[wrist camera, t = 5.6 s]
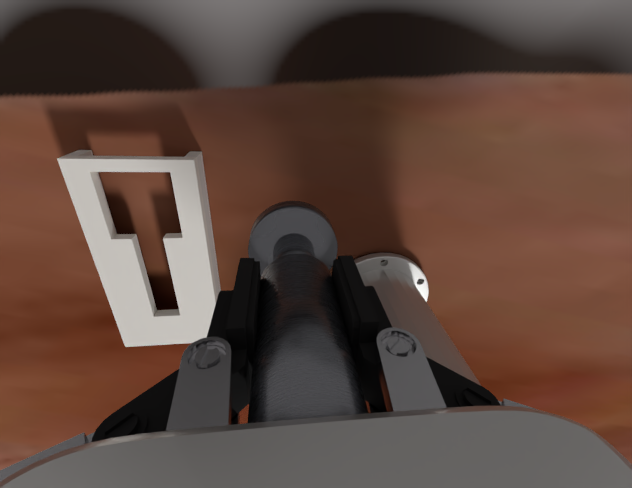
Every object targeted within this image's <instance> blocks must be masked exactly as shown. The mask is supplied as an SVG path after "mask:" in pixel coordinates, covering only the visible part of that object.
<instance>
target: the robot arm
mask: <svg viewBox="0 0 632 488" xmlns="http://www.w3.org/2000/svg"><path fill="white" fill-rule="evenodd" d="M332 280H333V283H334V287H335V291H336V294H337V298H338V302H339V306H340V309H341V313H342V317H343V320H344V324H345V328H346V332H347V335H348V339H349V343H350V346H351V350H352V354H353V357H354V361H355V365H356V368H357V372H358V376H359V379H360V383H361V387H362V391H363V394H364V398H365V402H366V405H367V409H368V413H366V414H354V415H342V416H329V417H317V418H305V419H293V420H281V421H269V422H257V423H246V424H240V415H239V412H240V411H241V410H242V409H243V408H244V407H245V406H246V405H247V404H249V403H250V391H251V380H252V368H253V358H254V354H255V344H256V332H257V320H258V308H259V297H260V285H261V273H260V261H255V259H254V258H240V262H239V267H238V272H237V276H236V281H235V286H234V290H232V291H220V292H219V294H218V298H217V301H216V305H215V309H214V312H213V316H212V320H211V323H210V327H209V331H208V334H207V337H206V338H202V339H199V340H197V341H195V342H194V343H192V344H191V345H189V346H188V348H187V349H186V350H185V351H184V353H183V356H182V359H181V363H180V368H179V369H178V370H177V371H175V372H174V373H172V374H171V375H169V376H168V377H166V378H165V379H163V380H162V381H160V382H159V383H157V384H156V385H154V386H153V387H151V388H150V389H148V390H147V391H145V392H144V393H142V394H141V395H139V396H138V397H136V398H135V399H133V400H132V401H131V402H129V403H128V404H126V405H125V406H123V407H122V408H120V409H119V410H117V411H116V412H114V413H113V414H111V415H110V416H109V417H108V418H106V419H105V420H104V421H103V422H102V423H101V425H100V426H99V427H98V428H97V429H96V431H95V432H94V433H92V434H90V435H88V436H86V435H85V433H82V434H80V435H77V436H75V437H73V438H71V439H69V440H66V441H64V442H62V443H60V444H58V445H55V446H53V447H51V448H49V449H47V450H44V451H42V452H40V453H38V454H36V455H33V456H31V457H29V458H27V459H25V460H22V461H20V462H18V463H16V464H13V465H11V466H9V467H7V468H5V469H2V470H0V488H632V464H631V463H630V462H629V461H628V460H627V459H626V458H625V457H624V456H623V455H622V454H621V453H620V452H618V451H617V450H616V449H615V448H614V447H613V446H612V445H611V444H609V443H608V442H607V441H606V440H605V439H604V438H602V437H601V436H600V435H598V434H597V433H595V432H594V431H593V430H591V429H589V428H587V427H586V426H584V425H582V424H580V423H578V422H575V421H573V420H571V419H568V418H565V417H562V416H559V415H556V414H552V413H548V412H544V411H541V410H537V409H534V408H531V407H528V406H525V405H522V404H519V403H516V402H513V401H510V400H506V399H503V401H502V402H500V401H498V400H497V399H496V397H495V396H494V395H493V394H492V393H491V392H490V391H488V390H487V389H485V388H484V387H482V386H481V384H480V383H479V381H478V380H477V378H476V377H475V375H474V374H473V372H472V371H471V369H470V368H469V366H468V365H467V363H466V362H465V360H464V359H463V357H462V356H461V354H460V353H459V351H458V349H457V348H456V346H455V345H454V343H453V342H452V340H451V339H450V337H449V336H448V334H447V333H446V331H445V330H444V328H443V327H442V325H441V324H440V322H439V321H438V319H437V318H436V316H435V315H434V313H433V311H432V310H431V308H430V307H429V305H428V304H427V300H428V294H429V287H428V282H427V279H426V276H425V275H424V273H423V272H422V270H421V269H420V268H419V267H418V265H417V264H416V263H415V262H413V261H412V260H410V259H409V258H407V257H404V256H402V255H399V254H394V253H374V254H369V255H366V256H362V257H359V258H357V259H355V260H354V259H353V257H352V256H338V259H334V260H333V270H332Z"/></svg>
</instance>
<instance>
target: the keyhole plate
mask: <svg viewBox="0 0 632 488" xmlns="http://www.w3.org/2000/svg"><path fill="white" fill-rule="evenodd" d="M57 160H58V163H59V165H60V168H61V171H62V174H63V177H64V179H65V182H66V185H67V188H68V190H69V193H70V196H71V199H72V201H73V204H74V207H75V210H76V212H77V215H78V218H79V221H80V223H81V226H82V229H83V232H84V234H85V237H86V240H87V243H88V245H89V248H90V251H91V254H92V256H93V259H94V262H95V265H96V268H97V270H98V273H99V276H100V279H101V281H102V284H103V287H104V290H105V292H106V295H107V298H108V301H109V303H110V306H111V309H112V312H113V314H114V317H115V320H116V323H117V325H118V328H119V331H120V334H121V336H122V339H123V342H124V345H125V347H132V346H149V345H166V344H183V343H194V342H195V341H197V340H199V339H202V338H206V337H207V334H208V331H209V327H210V323H211V320H212V316H213V312H214V309H215V305H216V301H217V298H218V294H219V292H220V291H221V288H220V281H219V274H218V266H217V259H216V252H215V244H214V237H213V230H212V223H211V215H210V208H209V201H208V193H207V186H206V179H205V171H204V164H203V157H202V151H190V152H189V153H188V154H187V155H186V156H184V157H157V156H93V153H92V150H77V151H75V152H72V153H70V154H67V155H65V156H62V157H60V158H57ZM98 172H170V174H171V179H172V184H173V190H174V195H175V200H176V205H177V211H178V216H179V221H180V226H181V231H182V233H166V234H165V236H164V237H163V241H164V246H165V250H166V254H167V259H168V263H169V268H170V272H171V277H172V281H173V285H174V290H175V294H176V299H177V303H178V307H179V309H171V310H157V308H156V305H155V301H154V297H153V294H152V290H151V286H150V283H149V279H148V275H147V272H146V268H145V264H144V261H143V257H142V253H141V250H140V246H139V242H138V238H137V235H136V234H117V232H116V229H115V225H114V222H113V219H112V216H111V212H110V209H109V206H108V202H107V199H106V196H105V193H104V189H103V186H102V183H101V179H100V176H99V173H98Z"/></svg>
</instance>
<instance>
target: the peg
mask: <svg viewBox="0 0 632 488" xmlns="http://www.w3.org/2000/svg"><path fill="white" fill-rule="evenodd" d="M248 254H249V258H254V259H255V261H260V273H261V285H260V297H259V308H258V320H257V332H256V344H255V354H254V358H253V368H252V380H251V391H250V403H249V414H248V423H257V422H269V421H281V420H293V419H305V418H317V417H329V416H342V415H354V414H366V413H368V409H367V405H366V402H365V398H364V394H363V391H362V387H361V383H360V379H359V376H358V372H357V368H356V365H355V361H354V357H353V354H352V350H351V346H350V343H349V339H348V335H347V332H346V328H345V324H344V320H343V317H342V313H341V309H340V306H339V302H338V298H337V294H336V291H335V287H334V283H333V280H332V276H331V273H330V271H329V270H330V269H331V267H332V266H333V260H334V259H336V256H337V240H336V236H335V234H334V231H333V228H332V225H331V223H330V221H329V220H328V218H327V217H326V215H325V214H324V213H323V212H322V211H320V210H319V209H318V208H316V207H315V206H313V205H310V204H308V203H305V202H300V201H286V202H281V203H278V204H275V205H273V206H271V207H269V208H267V209H266V210H265V211H263V212H262V213H261V214H260V215H259V216H258V218H257V219H256V221H255V222H254V224H253V227H252V230H251V234H250V240H249V246H248Z"/></svg>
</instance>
